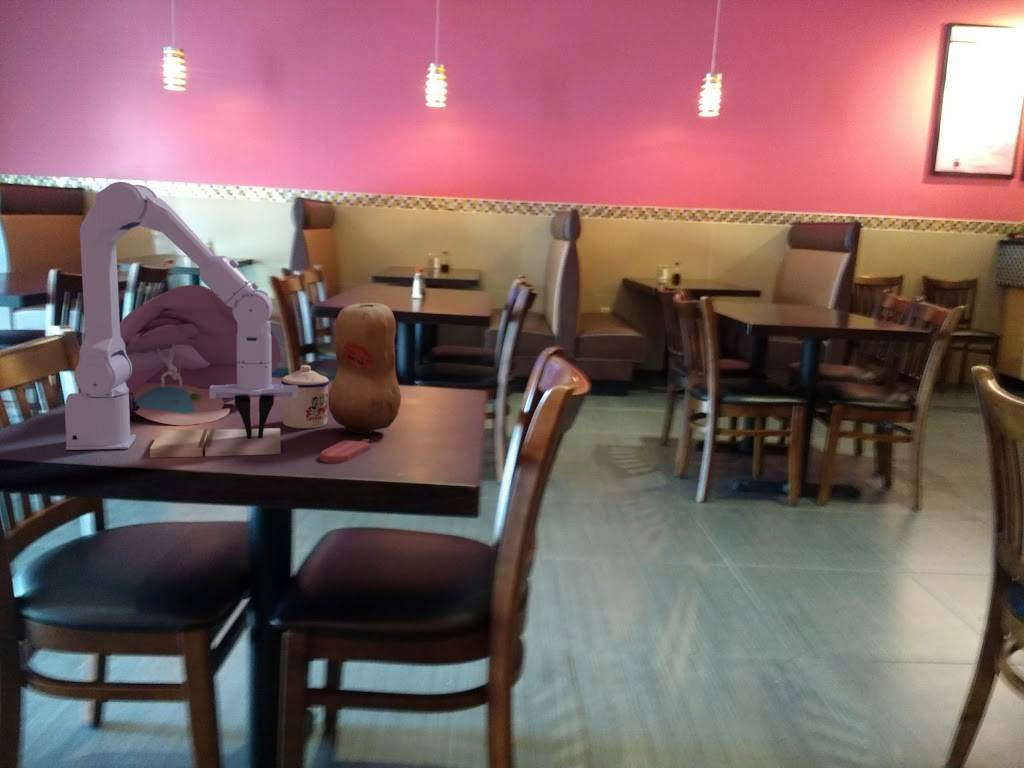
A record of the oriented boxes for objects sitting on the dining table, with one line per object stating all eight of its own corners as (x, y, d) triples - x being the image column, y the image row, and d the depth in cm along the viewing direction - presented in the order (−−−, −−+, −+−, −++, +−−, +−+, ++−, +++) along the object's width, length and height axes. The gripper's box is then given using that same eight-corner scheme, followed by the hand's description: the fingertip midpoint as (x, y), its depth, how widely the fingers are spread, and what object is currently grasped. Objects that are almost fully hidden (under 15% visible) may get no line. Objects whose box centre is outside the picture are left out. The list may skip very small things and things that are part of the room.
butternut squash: (316, 437, 145) (318, 303, 141) (342, 421, 158) (344, 298, 154) (388, 444, 144) (392, 308, 139) (408, 427, 157) (412, 303, 152)
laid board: (150, 457, 127) (149, 448, 127) (160, 438, 139) (160, 429, 138) (202, 456, 130) (202, 447, 129) (208, 437, 141) (208, 429, 141)
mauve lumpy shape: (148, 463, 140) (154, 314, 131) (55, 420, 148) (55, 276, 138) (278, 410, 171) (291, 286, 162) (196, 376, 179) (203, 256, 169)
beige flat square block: (205, 456, 130) (205, 446, 130) (211, 437, 141) (210, 429, 141) (280, 453, 133) (280, 444, 133) (280, 436, 145) (280, 427, 144)
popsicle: (381, 437, 144) (342, 457, 129) (380, 445, 144) (342, 466, 130) (354, 434, 145) (313, 454, 131) (354, 442, 145) (313, 463, 131)
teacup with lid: (312, 431, 150) (312, 371, 147) (271, 425, 152) (271, 366, 150) (344, 419, 161) (345, 363, 159) (306, 413, 164) (306, 358, 161)
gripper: (207, 365, 129) (208, 444, 132) (298, 365, 133) (298, 442, 136) (210, 358, 136) (212, 434, 138) (297, 358, 140) (297, 432, 142)
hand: (254, 437), depth 137 cm, fingers closed on beige flat square block
